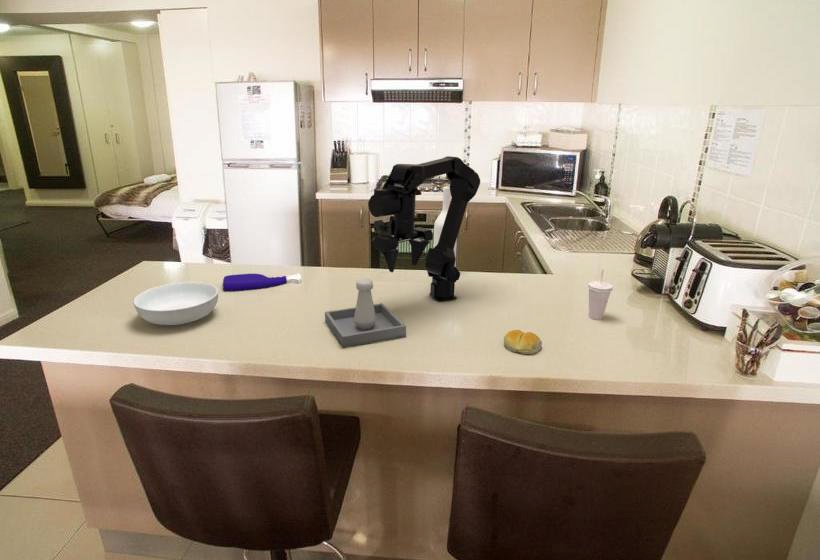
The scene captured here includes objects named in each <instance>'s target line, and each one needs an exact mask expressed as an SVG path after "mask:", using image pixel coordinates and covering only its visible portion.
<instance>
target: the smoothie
mask: <svg viewBox="0 0 820 560" xmlns="http://www.w3.org/2000/svg"><path fill="white" fill-rule="evenodd" d="M604 270H605V269H603V268H601V272H600V276H599V277H600V279H599V280H598V281H595V280H594V281H590V282H589V283H588V286H587V288H588V317H589V319H592V320H596V321H601V320H603V318H604V314H605V311H606V308H607V306H608V305H607V304H608V300H609V298H610V295H611V292H612V291H613V285H612V284H610V283H608V282H604V281H603V276H604Z"/></svg>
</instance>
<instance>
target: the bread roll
mask: <svg viewBox="0 0 820 560" xmlns="http://www.w3.org/2000/svg"><path fill="white" fill-rule="evenodd" d="M542 344H543V342H542V340H541V338H540V337H539V336H538V335H537V334H536V333H533V332H530V331H529V332H523V331H522V330H520V329H513V330H510V331H508V332H507V333H506V334H505V335H504V336H503V345H504V347H505V348H506V349H507V350H509V351H510V352H512V353H513V352H514V353H519V354H521V355H534V354H537V353H538V352H539V351H540V350H541V347H542Z"/></svg>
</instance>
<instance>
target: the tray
mask: <svg viewBox="0 0 820 560" xmlns="http://www.w3.org/2000/svg"><path fill="white" fill-rule="evenodd" d="M373 305H374V310H375V315H376V322H375V324H374V326H373V328H371V329H369V330H361V329H359V328H357V326H356V324H355V322H354V315H355V310H356V306H354V307H349V308H342V309H341V308H340V309H335V310H328V311H324V322H325V324H326V325H327V327H328V328H329V330H330V332H331V333H332V334H333V336H334V337H335V338H336V340H337V341H338V343H339V345H341V348H342V349H346V348H351V347H352V348H353V347H357V346H362V345H366V344H367V345H368V344H373V343H378V342H379V343H380V342H383V341H384V342H385V341H390V340H396V339H402V338H405V337H406V336H407V325H406V324H405V323H403V321H401V320H400V318H398V317H397V316H396V315H395V314H394V312H392V311H391V310H390V309H389V308H388V307H387V305H385V304H384V303H383V302H381V303H373Z"/></svg>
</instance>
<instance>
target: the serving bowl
mask: <svg viewBox="0 0 820 560" xmlns="http://www.w3.org/2000/svg"><path fill="white" fill-rule="evenodd" d="M218 300H219V289H218V287H216V285H213V284H211V283H207V282H200V281H182V282H181V281H180V282H179V281H178V282H172V283H166V284H160V285H157V286H154V287H151V288H149V289H146V290H144V291H142V292H140V293H138V294H137V296H135V298H133V303H132V304H133V306H134V308H135V310H136V313H137V314H138V315H139V316H140V318H142V319H143V320H145V321H147V322H148V323H151V324H154V325H159V326H177V325H179V326H180V325H185V324H189V323H192V322H196V321H198V320H201V319H203V318H204V317H206V316H208V315H209V314H211V312H213V310H214V309H215V307H216V305H218V304H217V303H218Z"/></svg>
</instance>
